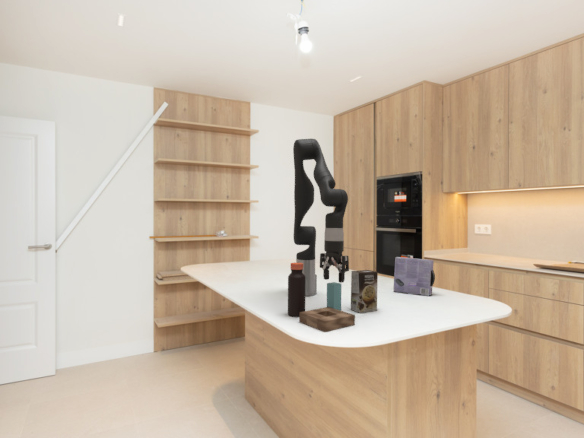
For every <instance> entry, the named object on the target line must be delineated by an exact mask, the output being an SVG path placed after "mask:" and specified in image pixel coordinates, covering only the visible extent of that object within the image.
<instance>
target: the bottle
mask: <svg viewBox="0 0 584 438" xmlns="http://www.w3.org/2000/svg"><path fill="white" fill-rule="evenodd" d="M302 271H303V263H296V262H290V272H291V273H289V275H288V277H287V279H288V280H287V315H288V316H290V317H293V318H294V317H297V318H299V312H304V311H306V296H305V278H306V277H305V275H304V274H303V273H302Z"/></svg>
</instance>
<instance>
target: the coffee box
mask: <svg viewBox="0 0 584 438" xmlns="http://www.w3.org/2000/svg"><path fill="white" fill-rule="evenodd" d="M378 276H379V275H378V271H375V270H372V269H371V270H370V269H364V270H363V269H362V270H352V271H351V275H350V277H351V281H350V283H351V284H350V285H351V286H350V310H351V311H354V312H357V313H358V312H359V314H361V313H362V312H363V313H369V311H370V312H374V311H375V312H376V310H377V311H378ZM363 313H362V314H363Z"/></svg>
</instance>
